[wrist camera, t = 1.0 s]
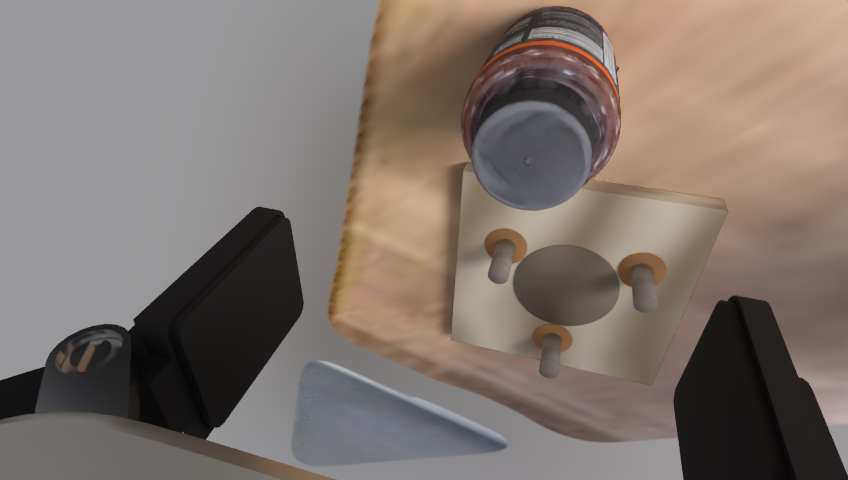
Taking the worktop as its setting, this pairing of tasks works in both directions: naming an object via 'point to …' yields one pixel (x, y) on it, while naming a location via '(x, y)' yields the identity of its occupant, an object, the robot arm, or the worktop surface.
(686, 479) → the robot arm
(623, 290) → the pin board
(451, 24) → the worktop surface
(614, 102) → the supplement bottle
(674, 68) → the worktop surface
